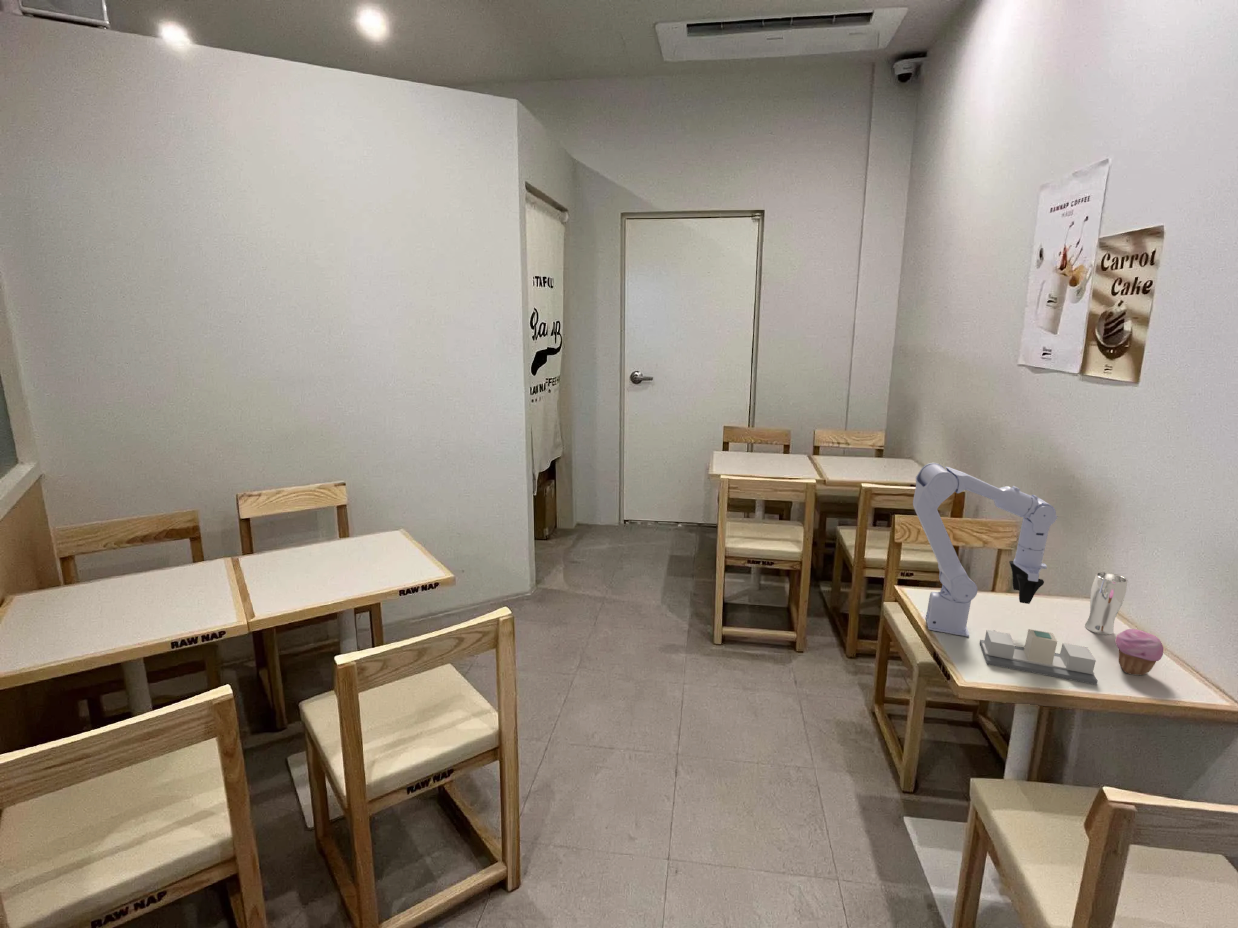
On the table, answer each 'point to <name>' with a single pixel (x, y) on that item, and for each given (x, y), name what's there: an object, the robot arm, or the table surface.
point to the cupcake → (1138, 651)
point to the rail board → (1065, 665)
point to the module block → (1040, 646)
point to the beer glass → (1105, 602)
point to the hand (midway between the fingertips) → (1021, 596)
